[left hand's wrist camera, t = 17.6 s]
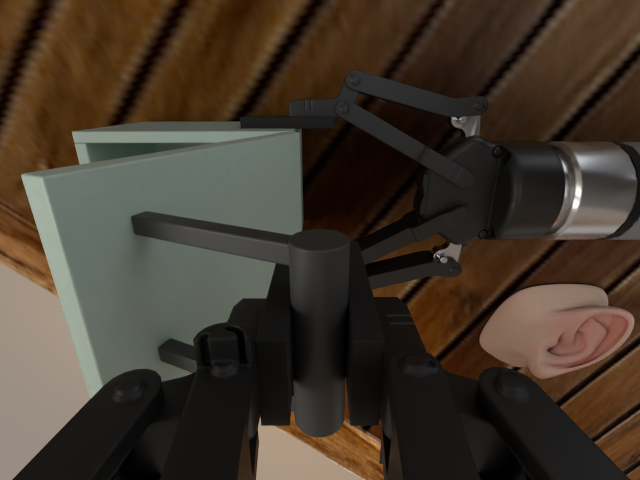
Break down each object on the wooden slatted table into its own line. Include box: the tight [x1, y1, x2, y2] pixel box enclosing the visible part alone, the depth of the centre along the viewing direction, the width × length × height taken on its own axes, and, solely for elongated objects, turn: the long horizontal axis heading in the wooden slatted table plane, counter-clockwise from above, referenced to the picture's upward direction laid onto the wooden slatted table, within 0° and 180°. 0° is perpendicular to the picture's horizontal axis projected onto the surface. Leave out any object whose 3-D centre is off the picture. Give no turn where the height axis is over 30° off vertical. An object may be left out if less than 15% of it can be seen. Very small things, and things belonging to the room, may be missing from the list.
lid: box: [21, 132, 350, 437], centre depth 16 cm, size 15×10×9 cm
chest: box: [72, 122, 303, 227], centre depth 29 cm, size 14×10×10 cm
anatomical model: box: [480, 284, 634, 379], centre depth 38 cm, size 13×4×12 cm
